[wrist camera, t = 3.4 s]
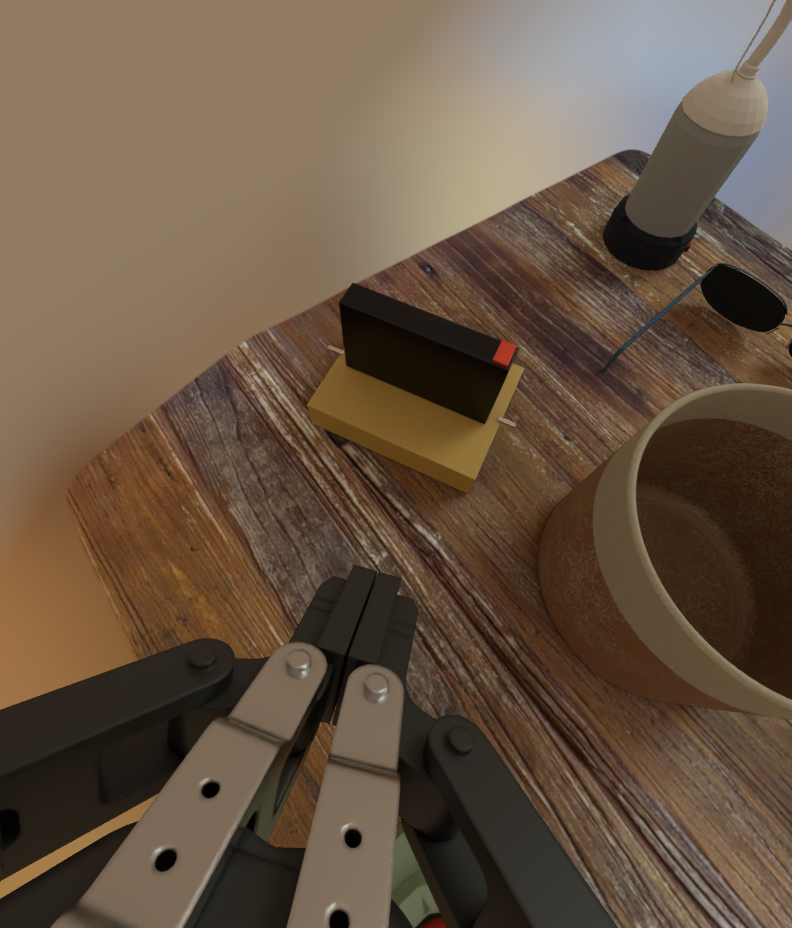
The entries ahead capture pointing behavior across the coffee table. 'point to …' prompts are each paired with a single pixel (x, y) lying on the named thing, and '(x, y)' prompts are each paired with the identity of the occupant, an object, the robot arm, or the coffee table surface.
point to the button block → (411, 885)
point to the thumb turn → (424, 353)
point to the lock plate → (408, 423)
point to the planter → (684, 556)
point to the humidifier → (692, 161)
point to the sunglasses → (732, 302)
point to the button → (435, 923)
